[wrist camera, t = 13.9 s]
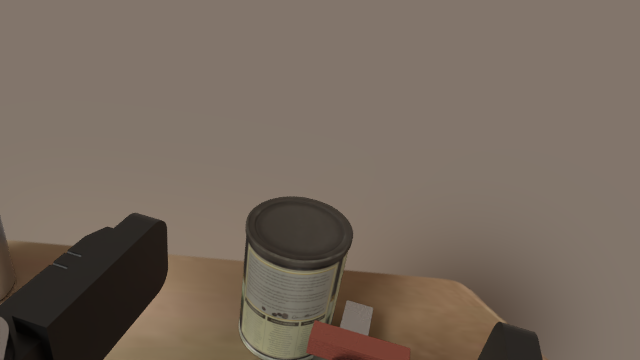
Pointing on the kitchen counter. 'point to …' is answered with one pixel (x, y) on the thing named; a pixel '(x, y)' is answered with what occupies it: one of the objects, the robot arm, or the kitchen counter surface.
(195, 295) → the kitchen counter surface
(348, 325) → the crank
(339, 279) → the coffee can
